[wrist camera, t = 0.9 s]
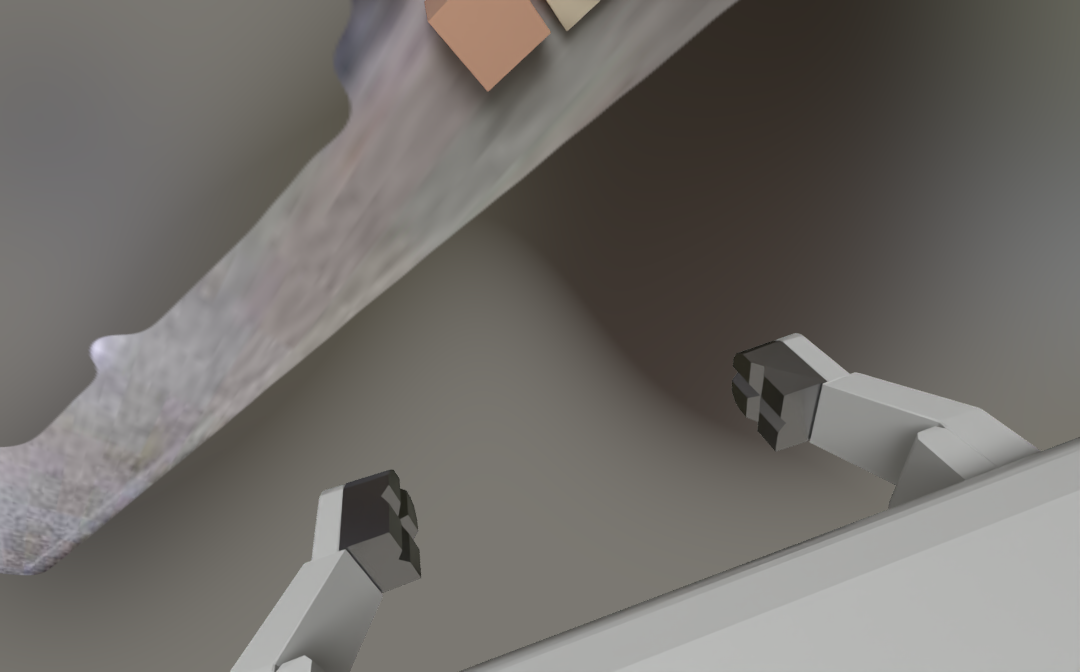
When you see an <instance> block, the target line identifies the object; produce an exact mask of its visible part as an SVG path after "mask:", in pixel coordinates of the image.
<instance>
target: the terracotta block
mask: <svg viewBox="0 0 1080 672" xmlns="http://www.w3.org/2000/svg"><path fill="white" fill-rule="evenodd" d="M424 3H425V8H426V14H427V19H428V22H429V23H430V24H431V26H432V27H433V28H434V29H435V30H436V32H437V33H438V34H439V35H440V36H441V37H442V39H443V40H444V41H445V42H446V43H447V44H448V46H449V47H450V48H451V49H452V50H453V51H454V53H455V54H456V55H457V56H458V57H459V58H460V60H461V61H462V62H463V63H464V64H465V66H466V67H467V68H468V69H469V70H470V71H471V73H472V74H473V75H474V76H475V77H476V78H477V80H478V81H479V82H480V83H481V84H482V85H483V87H484V88H485V89H486V90H487V91H489V90H490V89H491V88H493V87H494V86H495V85H496V84H497V83H498V82H499V81H500V80H501V79H502V78H503V77H504V76H505V75H506V74H507V73H509V72H510V71H511V70H512V69H513V68H514V67H515V66H516V65H517V64H518V63H519V62H520V61H521V60H522V59H523V58H525V57H526V56H527V55H528V54H529V53H530V52H531V51H532V50H533V49H534V48H535V47H536V46H537V45H538V44H539V43H541V42H542V41H543V40H544V39H545V38H546V37H547V36H548V35H549V34H550V33H551V31H550V30H549V29H548V27H547V26H546V24H545V23H544V21H543V20H542V18H541V17H540V15H539V14H538V12H537V11H536V9H535V8H534V6H533V5H532V3H531V2H530V0H426V1H425V2H424Z"/></svg>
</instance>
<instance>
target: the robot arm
mask: <svg viewBox="0 0 1080 672" xmlns="http://www.w3.org/2000/svg"><path fill="white" fill-rule="evenodd" d="M733 367H734V368H735V369H736V370H737V372H738V373H737V374H736V375H735V377H734V378H733V380H732V393H733V396H734V399H735V402H736V404H737V406H738V407H739V409H740V410H741V412H742V413H743V414H744V415H745V417H747V418H749V419H752V420H754V421H757V422H758V432H759V433H760V434H761V435H762V437H763V438H764V439H765V440H766V441H767V442H768V443H769V445H770V446H771V447H772V448H773V449H774V451H779V450H782V449H785V448H788V447H791V446H794V445H797V444H800V443H804V442H807V441H810V443H812V444H814V445H816V446H818V447H820V448H822V449H824V450H826V451H828V452H830V453H832V454H834V455H836V456H838V457H840V458H842V459H844V460H846V461H848V462H850V463H852V464H854V465H856V466H858V467H860V468H862V469H864V470H866V471H868V472H870V473H872V474H874V475H876V476H878V477H880V478H882V479H884V480H886V481H888V482H890V483H892V484H894V485H896V487H895V489H894V491H893V494H892V496H891V499H890V501H889V507H888V508H889V509H888V510H885V511H882V512H880V513H877V514H875V515H872V516H869V517H867V518H864V519H861V520H859V521H856V522H853V523H851V524H848V525H845V526H843V527H840V528H838V529H835V530H832V531H830V532H827V533H824V534H822V535H819V536H817V537H814V538H811V539H808V540H806V541H803V542H801V543H798V544H795V545H792V546H790V547H787V548H784V549H782V550H779V551H776V552H774V553H771V554H768V555H766V556H763V557H761V558H758V559H755V560H753V561H750V562H747V563H745V564H742V565H739V566H737V567H734V568H731V569H729V570H726V571H723V572H721V573H718V574H715V575H713V576H710V577H708V578H705V579H702V580H699V581H697V582H694V583H692V584H689V585H686V586H683V587H681V588H679V589H676V590H673V591H670V592H668V593H665V594H662V595H660V596H657V597H654V598H652V599H649V600H647V601H644V602H641V603H639V604H636V605H633V606H631V607H628V608H625V609H623V610H620V611H618V612H615V613H612V614H609V615H607V616H604V617H601V618H599V619H596V620H594V621H591V622H589V623H586V624H583V625H581V626H578V627H575V628H573V629H570V630H567V631H565V632H562V633H559V634H557V635H554V636H551V637H549V638H546V639H543V640H541V641H538V642H536V643H533V644H530V645H527V646H525V647H522V648H519V649H517V650H514V651H512V652H509V653H506V654H504V655H501V656H498V657H496V658H493V659H490V660H488V661H485V662H482V663H480V664H477V665H475V666H472V667H469V668H467V669H464V670H461V671H459V672H1080V437H1078V438H1076V439H1073V440H1070V441H1068V442H1065V443H1062V444H1060V445H1057V446H1054V447H1052V448H1049V449H1047V450H1044V451H1040V450H1039V449H1038V448H1036V447H1035V446H1033V445H1032V444H1030V443H1029V442H1028V441H1026V440H1025V439H1023V438H1022V437H1020V436H1019V435H1017V434H1016V433H1015V432H1013V431H1012V430H1011V429H1009V428H1008V427H1006V426H1005V425H1003V424H1002V423H1001V422H999V421H998V420H996V419H995V418H993V417H992V416H991V415H989V414H988V413H986V412H985V411H984V410H982V409H981V408H978V407H974V406H971V405H967V404H964V403H960V402H957V401H954V400H950V399H947V398H943V397H940V396H936V395H933V394H929V393H926V392H922V391H919V390H916V389H912V388H908V387H905V386H902V385H898V384H895V383H891V382H887V381H885V380H881V379H878V378H874V377H870V376H867V375H863V374H860V373H857V372H855V373H852V374H849V373H848V372H847V371H846V370H844V369H843V368H842V367H841V366H839V365H838V364H837V363H836V362H834V361H833V360H832V359H831V358H830V357H828V356H827V355H826V354H825V353H824V352H822V351H821V350H820V349H819V348H817V347H816V346H815V345H813V344H812V343H811V342H810V341H809V340H808V339H806V338H805V337H804V336H803V335H801V334H798V333H794V334H792V335H789V336H786V337H783V338H780V339H777V340H775V341H771V342H768V343H765V344H762V345H759V346H756V347H753V348H751V349H748V350H745V351H742V352H739V353H736V355H735V357H734V359H733ZM417 532H418V525H417V517H416V513H415V509H414V505H413V503H412V500H411V497H410V496H409V494H408V492H407V491H406V490H403V489H400V480H399V477H398V476H397V474H396V473H395V471H394V470H387V471H384V472H381V473H378V474H374V475H371V476H368V477H365V478H361V479H358V480H355V481H352V482H348V483H346V484H343V485H340V486H337V487H334V488H330V489H327V490H324V491H323V492H322V493H321V496H320V497H319V503H318V511H317V519H316V527H315V535H314V543H313V551H312V560H311V561H309V562H306V563H304V564H303V566H302V567H301V569H300V570H299V572H298V574H297V575H296V576H295V578H294V579H293V581H292V582H291V583H290V585H289V586H288V588H287V589H286V591H285V592H284V594H283V595H282V597H281V598H280V599H279V601H278V603H277V604H276V605H275V607H274V609H273V610H272V611H271V613H270V614H269V616H268V617H267V618H266V620H265V621H264V623H263V624H262V626H261V627H260V629H259V630H258V632H257V633H256V634H255V636H254V637H253V639H252V640H251V642H250V643H249V645H248V646H247V648H246V649H245V651H244V652H243V654H242V655H241V656H240V658H239V659H238V661H237V662H236V664H235V665H234V667H233V668H232V669H231V671H230V672H350V670H351V668H352V666H353V663H354V661H355V659H356V657H357V654H358V652H359V650H360V647H361V645H362V643H363V641H364V638H365V636H366V634H367V631H368V629H369V627H370V625H371V622H372V620H373V618H374V615H375V613H376V611H377V609H378V606H379V604H380V601H381V599H382V597H383V594H382V593H384V592H386V591H389V590H392V589H394V588H397V587H399V586H402V585H405V584H407V583H410V582H412V581H415V580H418V579H420V578H421V568H420V554H419V553H420V552H419V548H418V547H417V545H416V544H415V542H414V540H413V539H414V538H415V536H416V534H417Z"/></svg>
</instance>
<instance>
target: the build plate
mask: <svg viewBox="0 0 1080 672" xmlns="http://www.w3.org/2000/svg"><path fill="white" fill-rule="evenodd" d="M546 1H547V3H548V4H549V6H550V8H551V9H552V11H553V12H554V14H555V15H556V17H557V18H558V20H559V21H560V23H561V24H562V26H563V27H564V28H565V30H566V31H568V30H569V29H570V28H571V27H572V26H574V25H575V24H576V23H577V22H578V21H579V20H580V19H581V18H582V17H583V16H584V15H585V14H586V13H588V12H589V11H590V10H591V9H592V8H593V7H594V6H595V5H596V4H597V3H598V2H599V1H600V0H546Z"/></svg>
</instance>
